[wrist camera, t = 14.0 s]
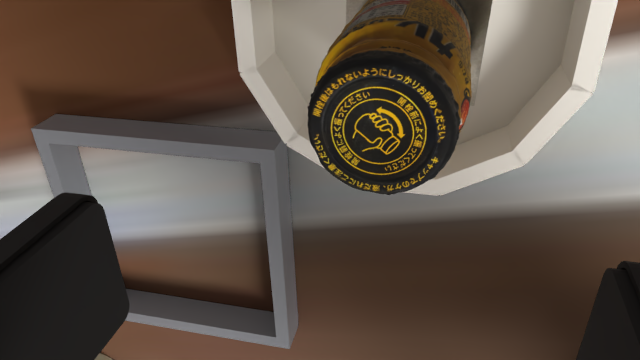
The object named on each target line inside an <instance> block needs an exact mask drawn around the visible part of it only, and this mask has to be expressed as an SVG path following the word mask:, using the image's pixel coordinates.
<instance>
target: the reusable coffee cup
mask: <svg viewBox="0 0 640 360" xmlns="http://www.w3.org/2000/svg"><path fill="white" fill-rule="evenodd" d="M95 360H113V359H111V358H110V357H108V356H105V355H103V354H101V353H99V354H98V356H97V357H96V358H95Z"/></svg>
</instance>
